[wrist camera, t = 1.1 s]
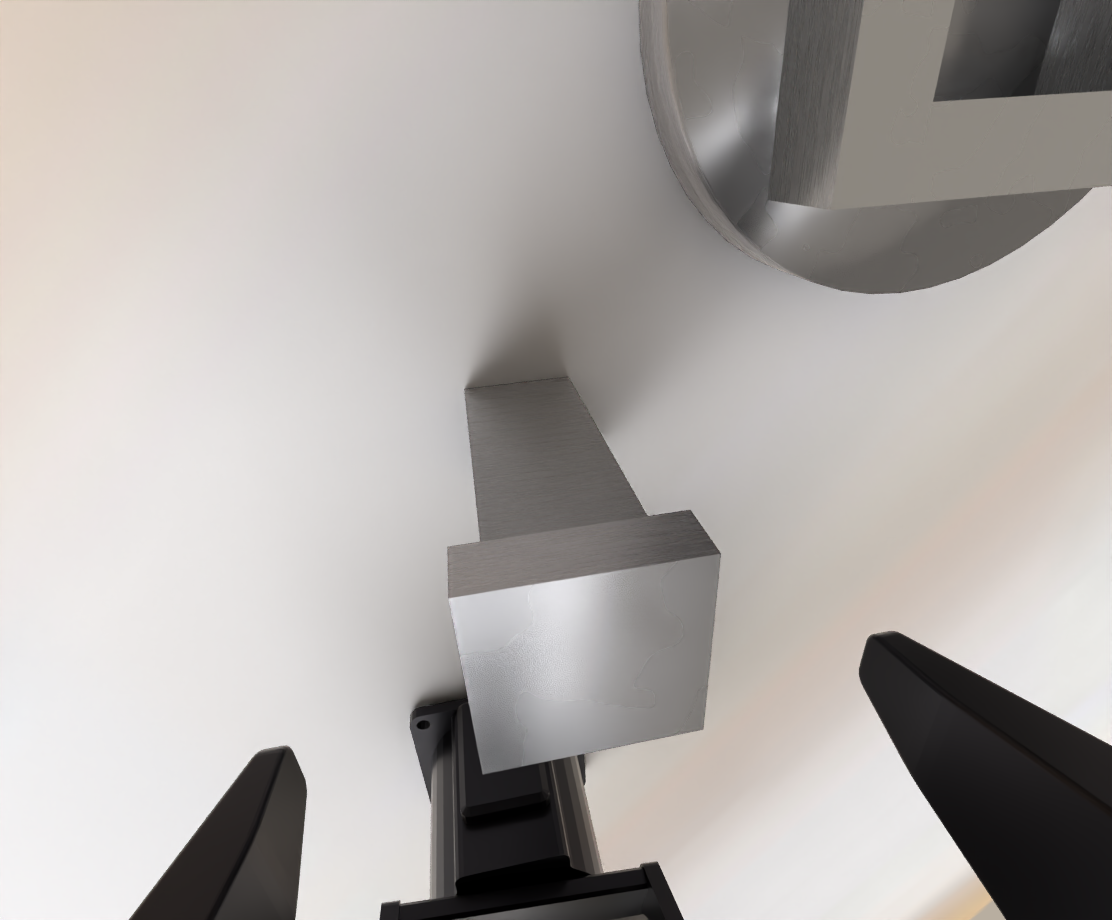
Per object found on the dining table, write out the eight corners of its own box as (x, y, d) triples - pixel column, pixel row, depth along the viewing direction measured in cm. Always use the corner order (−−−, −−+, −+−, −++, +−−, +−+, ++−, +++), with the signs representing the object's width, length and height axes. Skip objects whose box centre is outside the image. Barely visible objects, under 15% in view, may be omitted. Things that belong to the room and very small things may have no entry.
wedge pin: (589, 478, 18) (703, 729, 10) (463, 496, 18) (482, 774, 10) (584, 358, 17) (720, 553, 9) (443, 374, 16) (448, 598, 8)
